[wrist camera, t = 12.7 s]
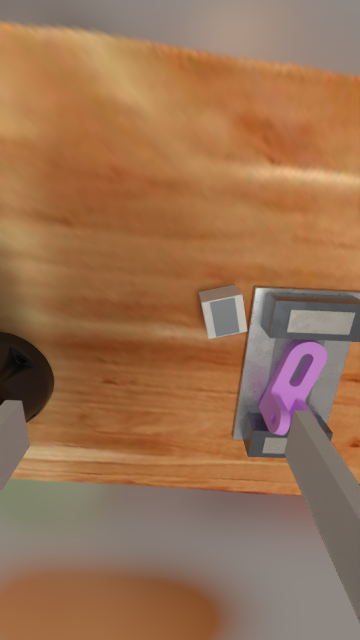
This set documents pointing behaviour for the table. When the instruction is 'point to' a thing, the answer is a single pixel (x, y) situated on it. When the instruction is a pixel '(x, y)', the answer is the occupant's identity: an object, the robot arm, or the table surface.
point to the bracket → (291, 385)
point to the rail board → (270, 344)
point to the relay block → (223, 311)
